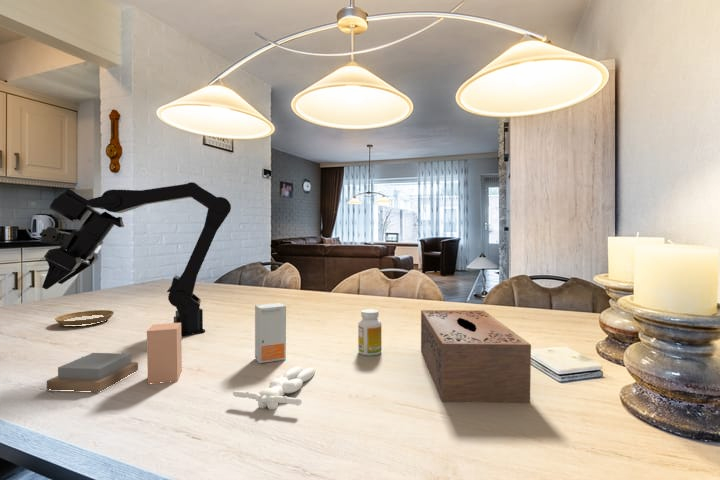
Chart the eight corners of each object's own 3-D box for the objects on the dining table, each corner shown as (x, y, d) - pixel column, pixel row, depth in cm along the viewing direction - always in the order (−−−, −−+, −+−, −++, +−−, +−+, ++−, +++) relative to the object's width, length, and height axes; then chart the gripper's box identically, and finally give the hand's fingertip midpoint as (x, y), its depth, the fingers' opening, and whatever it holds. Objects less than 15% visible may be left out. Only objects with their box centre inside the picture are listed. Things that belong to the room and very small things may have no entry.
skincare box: (259, 364, 79) (258, 308, 79) (254, 358, 83) (254, 304, 83) (287, 360, 82) (286, 305, 82) (281, 354, 86) (281, 302, 85)
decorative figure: (280, 361, 77) (228, 386, 60) (336, 367, 74) (297, 395, 57) (279, 379, 77) (226, 409, 60) (335, 385, 74) (296, 419, 56)
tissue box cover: (420, 352, 88) (421, 310, 87) (483, 352, 87) (483, 310, 87) (442, 403, 62) (442, 343, 62) (530, 404, 61) (530, 344, 61)
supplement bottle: (384, 350, 88) (384, 309, 88) (376, 357, 83) (376, 314, 83) (364, 347, 91) (364, 307, 90) (354, 354, 86) (354, 312, 85)
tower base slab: (92, 373, 76) (91, 361, 76) (138, 374, 76) (137, 362, 75) (46, 394, 66) (46, 380, 66) (99, 396, 66) (99, 382, 66)
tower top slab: (93, 362, 75) (93, 352, 75) (130, 363, 75) (130, 353, 75) (58, 378, 67) (57, 367, 67) (99, 380, 67) (99, 369, 67)
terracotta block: (154, 374, 74) (153, 324, 74) (181, 371, 75) (181, 322, 75) (147, 384, 69) (146, 331, 69) (177, 381, 70) (176, 328, 70)
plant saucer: (41, 328, 109) (41, 319, 109) (86, 317, 124) (86, 309, 124) (85, 330, 107) (84, 321, 107) (125, 318, 122) (125, 310, 121)
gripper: (72, 216, 101) (34, 265, 99) (43, 213, 84) (-4, 273, 81) (113, 238, 105) (77, 286, 102) (93, 240, 88) (49, 298, 85)
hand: (52, 285), depth 92 cm, fingers open, 9 cm apart
